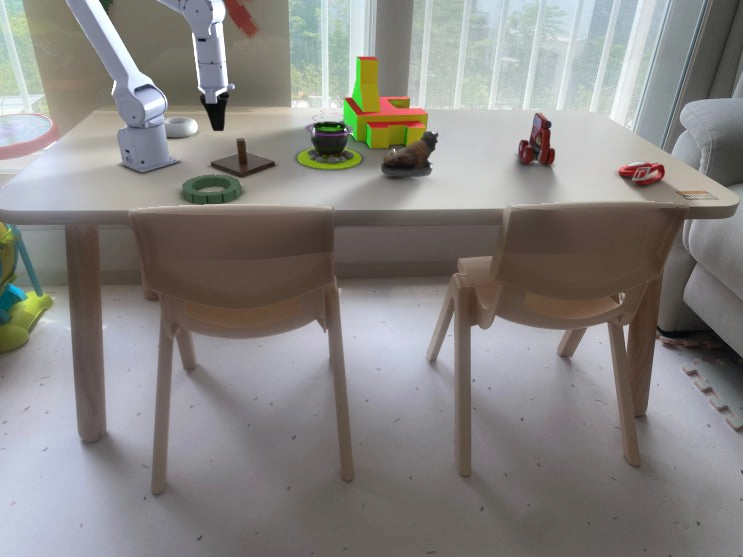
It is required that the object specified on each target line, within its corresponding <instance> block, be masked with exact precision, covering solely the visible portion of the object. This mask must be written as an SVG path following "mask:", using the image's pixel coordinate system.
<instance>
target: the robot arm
mask: <svg viewBox="0 0 743 557" xmlns="http://www.w3.org/2000/svg"><path fill="white" fill-rule="evenodd" d="M65 2H66V4H67V6H68V7H69V10H70V11H71V13H72V14H73V16H74V17H75V19H76V21H77V22H78V24H79V26H80V27H81V29H82V31H83V32H84V34H85V36H86V37H87V39H88V40H89V43H90V44H91V46H92V48H93V50H94V51H95V53H96V54H97V56H98V57H99V59H100V61H101V62H102V64H103V66H104V68H105V70H106V71H107V72H108V74H109V76H110V78H111V79H112V81H113V88H112V92H111V96H112V98H113V100H114V101H115V104H116V109H117V114H118V115H119V118H120V119H121V120H122V121H123V122H124V123H126V125H125V126H124V127H122V128H119V129H118V131H117V134H116V135H117V137H116V138H117V143H118V146H119V151H120V156H121V160H122V161H121V162H120V164H121V165H122V166H125V167H127V168H129V169H132V170H134V171H137V172H139V173H146V172H150V171H152V170H156V169H159V168H163V167H166V166H169V165H172V164H176V163H179V162H180V161H179V159H178V158H175V157H172V156H171V155H170V149H169V145H168V144H169V143H168V139H167V138H168V137H166V132H165V126H164V120H163V119H165V116H164V114H165V113H166V112H167V110H168V100H167V97H166V95H165V93H164V92H163V91H162V90H161V89H160V88H158V87H157V86H156V85H155V83H154V82H153V80H152V78H150V77H149V76H148V75H146V74H144V73H142V72H141V71H140V70H139V68H138V67H137V65H136V63H135V62H134V60H133V58H132V57H131V54H130V52H129V51H128V49H127V47H126V46H125V44H124V42H123V40H122V39H121V37H120V35H119V33H118V31H117V29H116V28H115V26H114V24H113V23H112V21H111V19H110V18H109V16H108V14H107V12H106V11H105V8H104V7H103V5H102V3H101V2H100V0H65ZM156 2H159V3H160V4H163V5H164V6H166V7H168V8H169V9H171V10H173V11H174V12H176V13H178V14H180V15H182V16H183V17H184V19H185V21H186V22H187V23H188V25H189V26H190V29H191V34H192V43H193V49H194V51H193V52H194V57H195V66H196V75H197V81H198V85H197V89H198V91H200V92H201V93H202V94H201V95H199V101H200V103H201V105H202V106H203V108H204V110H205V112H206V114H207V116H208V119H209V123H210V127H211V129H212V131H213V132H224V130H225V124H226V110H227V105H228V103H229V100H230V93H229V92H227V91H229V90H234V89H235V84H234V83H229V80H228V69H227V62H226V61H227V59H226V58H227V57H226V50H225V49H226V48H225V40H224V31H223V23H222V22H223V21H225V20H224V19H225V17H226V13H227V8H226V5H225V2H224V0H156Z"/></svg>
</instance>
